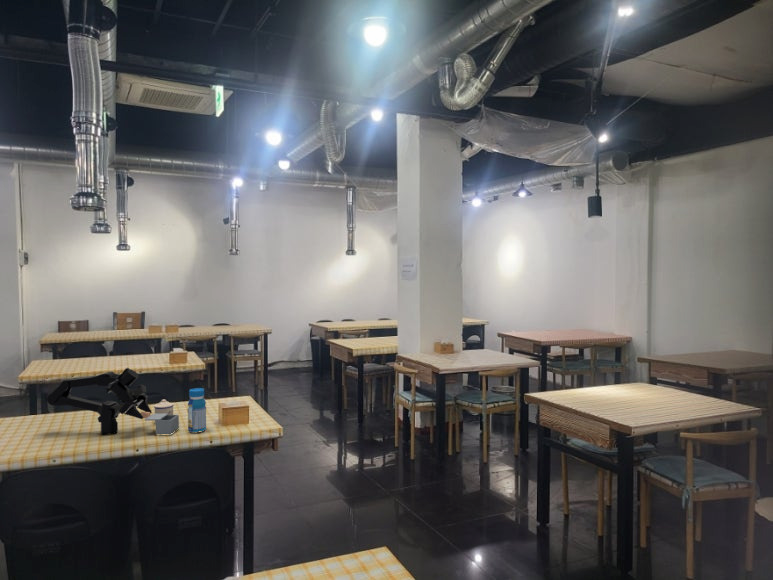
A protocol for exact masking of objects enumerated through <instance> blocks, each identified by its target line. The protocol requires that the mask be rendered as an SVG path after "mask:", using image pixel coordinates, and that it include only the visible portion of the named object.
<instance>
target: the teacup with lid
mask: <svg viewBox="0 0 773 580" xmlns="http://www.w3.org/2000/svg"><path fill="white" fill-rule="evenodd" d="M153 408H154V414H163V413H168V415H174V403H173V402H169V401H167V400H166V399H161V401H160V402H158V403H156V404H155V405H154V407H153ZM154 424H155V425H156V420H154Z"/></svg>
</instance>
